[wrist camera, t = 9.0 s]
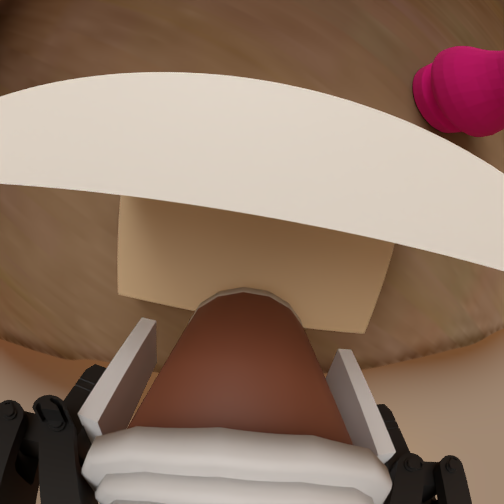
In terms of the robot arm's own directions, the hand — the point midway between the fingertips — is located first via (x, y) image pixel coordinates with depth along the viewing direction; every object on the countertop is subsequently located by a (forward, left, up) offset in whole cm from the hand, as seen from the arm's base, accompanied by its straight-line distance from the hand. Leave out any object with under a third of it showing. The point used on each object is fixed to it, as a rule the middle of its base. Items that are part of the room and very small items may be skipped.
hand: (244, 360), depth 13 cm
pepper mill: (-19, +13, -9) cm, 25 cm away
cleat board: (-4, 0, -9) cm, 10 cm away
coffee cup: (0, 0, -2) cm, 2 cm away
